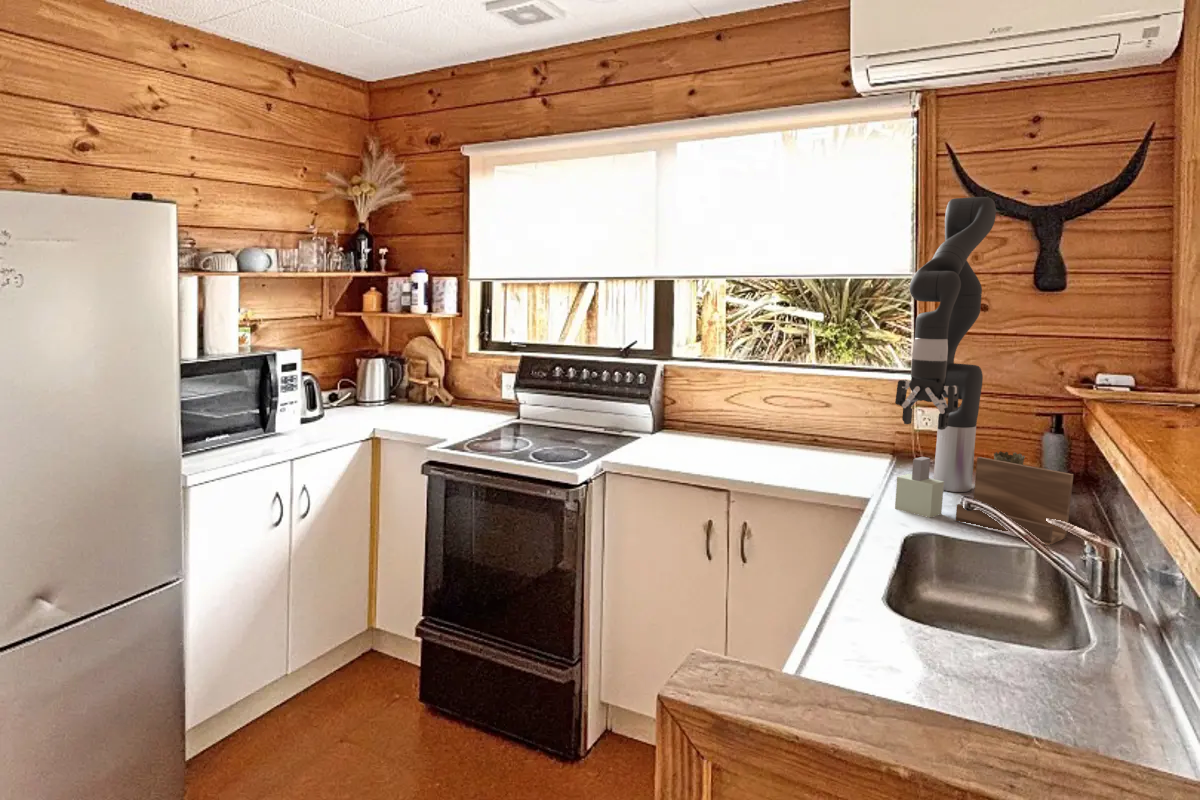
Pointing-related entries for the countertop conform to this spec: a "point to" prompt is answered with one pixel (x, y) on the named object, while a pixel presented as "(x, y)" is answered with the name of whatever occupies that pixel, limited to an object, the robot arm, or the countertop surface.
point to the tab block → (919, 490)
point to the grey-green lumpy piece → (1009, 457)
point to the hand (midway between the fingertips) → (924, 426)
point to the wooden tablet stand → (1021, 497)
